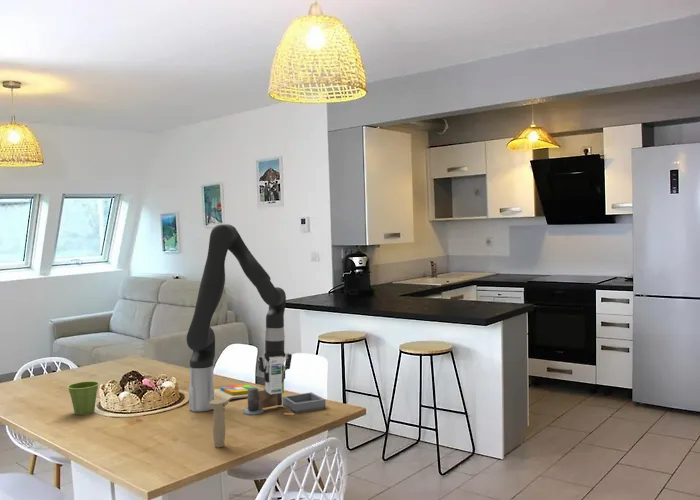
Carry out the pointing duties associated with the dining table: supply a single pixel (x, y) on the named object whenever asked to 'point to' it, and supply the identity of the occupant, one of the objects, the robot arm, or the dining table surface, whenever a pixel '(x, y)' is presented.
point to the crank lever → (262, 399)
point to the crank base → (259, 412)
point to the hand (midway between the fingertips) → (274, 381)
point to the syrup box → (275, 375)
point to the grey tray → (303, 402)
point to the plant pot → (83, 396)
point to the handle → (218, 421)
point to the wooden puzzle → (234, 391)
